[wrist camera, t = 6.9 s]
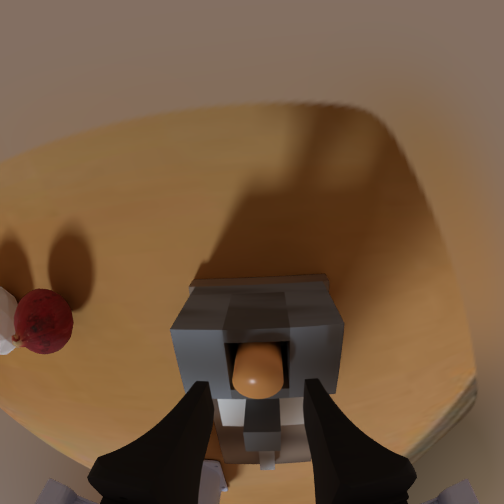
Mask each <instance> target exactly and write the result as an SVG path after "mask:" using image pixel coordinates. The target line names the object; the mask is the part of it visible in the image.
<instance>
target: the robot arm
mask: <svg viewBox="0 0 504 504" xmlns="http://www.w3.org/2000/svg"><path fill="white" fill-rule="evenodd" d="M214 410H215V409H214V404H213V400H212V395H211V390H210V385H209V381H196V382H195V383H194V384H193V385H192V387H191V388H190V389H189V390H188V392H187V393H186V394H185V396H184V397H183V398H182V399H181V400H180V401H179V403H178V404H177V405H176V406H175V407H174V408H173V409H172V410H171V411H170V412H169V413H168V414H167V415H166V416H165V417H164V418H163V419H162V420H161V421H160V422H159V423H158V424H157V425H156V426H154V427H153V428H152V429H151V430H149V431H148V432H147V433H145V434H144V435H142V436H141V437H140V438H138V439H137V440H135V441H133V442H132V443H130V444H128V445H126V446H124V447H122V448H120V449H118V450H116V451H113V452H111V453H108V454H106V455H103V456H100V457H98V458H97V460H96V461H95V463H94V465H93V467H92V469H91V471H90V473H89V475H88V477H87V478H88V481H89V483H90V484H91V485H92V486H93V487H94V488H95V489H96V490H97V491H98V492H99V493H100V494H101V495H102V496H103V498H102V500H101V502H100V504H219V502H220V495H221V491H228V487H227V484H226V481H225V478H224V474H223V471H222V468H221V465H220V462H219V461H213V460H204V457H205V453H206V450H207V446H208V442H209V438H210V434H211V431H212V427H213V419H214ZM303 416H304V426H305V431H306V435H307V440H308V444H309V449H310V453H311V458H312V464H313V472H314V483H315V498H316V504H408V503H407V499H408V498H409V496H408V493H407V490H408V489H409V488H410V487H411V485H412V484H413V483H414V481H415V480H416V478H417V475H416V472H415V470H414V468H413V466H412V464H411V463H410V461H409V459H408V458H405V457H403V456H401V455H399V454H396V453H394V452H392V451H390V450H388V449H387V448H385V447H383V446H382V445H380V444H379V443H377V442H376V441H374V440H373V439H371V438H370V437H368V436H367V435H366V434H365V433H363V432H362V431H361V430H360V429H359V428H358V427H356V426H355V425H354V424H353V423H352V422H351V421H350V420H349V419H348V418H347V417H346V416H345V414H344V413H343V412H342V411H341V410H340V409H339V407H338V406H337V405H336V404H335V402H334V401H333V400H332V398H331V397H330V396H329V394H328V393H327V391H326V390H325V388H324V387H323V385H322V383H321V382H320V380H319V379H318V378H312V379H305V382H304V397H303ZM35 504H97V503H95V502H93V501H89V500H88V499H85V498H83V497H80V496H78V495H77V494H76V493H75V492H74V491H73V490H72V489H71V488H69V487H68V486H66V485H64V484H62V483H60V482H58V481H56V480H54V479H52V478H49V480H48V481H47V483H46V485H45V487H44V488H43V490H42V492H41V494H40V495H39V497H38V499H37V501H36V503H35ZM421 504H479V502H478V500H477V497H476V495H475V493H474V491H473V489H472V487H471V484H470V482H469V480H468V479H465V480H462V481H460V482H458V483H457V484H454V485H452V486H450V487H448V488H446V489H445V490H443V491H442V492H441V493H440V494H439V496H438V497H436V498H434V499H431V500H429V501H427V502H424V503H421Z"/></svg>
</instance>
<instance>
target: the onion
mask: <svg viewBox="0 0 504 504" xmlns="http://www.w3.org/2000/svg"><path fill="white" fill-rule="evenodd" d="M14 327H15V332H16V333H15V335H12V336H11V338H12V344H13V345H14V346H16V347H17V348H19V347H26V348H28V349H29V350H31V351H33V352H36V353H39V354H50V353H54V352H56V351H58V350H60V349H61V348H63V347H64V345H65V344H66V343H67V342H68V340H69V339H70V337H71V334H72V328H73V317H72V312H71V309H70V307H69V305H68V303H67V302H66V301H65V300H64V298H63V297H62V296H60V295H59V294H57V293H55V292H53V291H51V290H47V289H35V290H32V291H31V292H29V293H28V294H26V295H25V296H24V297H23V298H22V299H21V300H20V302H19V303H18V306H17V308H16V311H15V314H14Z"/></svg>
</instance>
